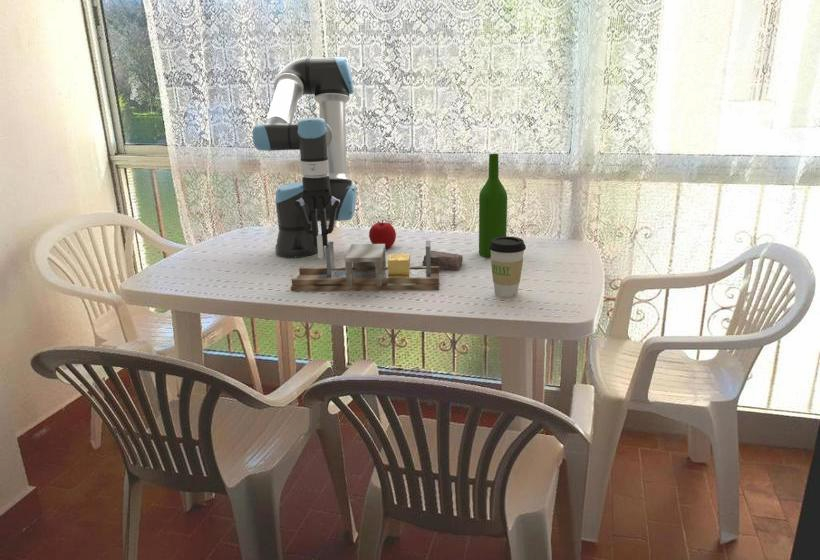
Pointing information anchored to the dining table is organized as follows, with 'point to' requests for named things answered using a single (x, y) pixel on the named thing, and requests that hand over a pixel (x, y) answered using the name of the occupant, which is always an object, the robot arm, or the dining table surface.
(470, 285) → the dining table surface
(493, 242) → the coffee cup
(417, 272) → the grey u-shaped piece
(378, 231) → the apple
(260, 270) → the dining table surface
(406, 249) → the dining table surface
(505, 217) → the wine bottle
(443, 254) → the stone
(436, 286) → the tunnel board
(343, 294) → the dining table surface
